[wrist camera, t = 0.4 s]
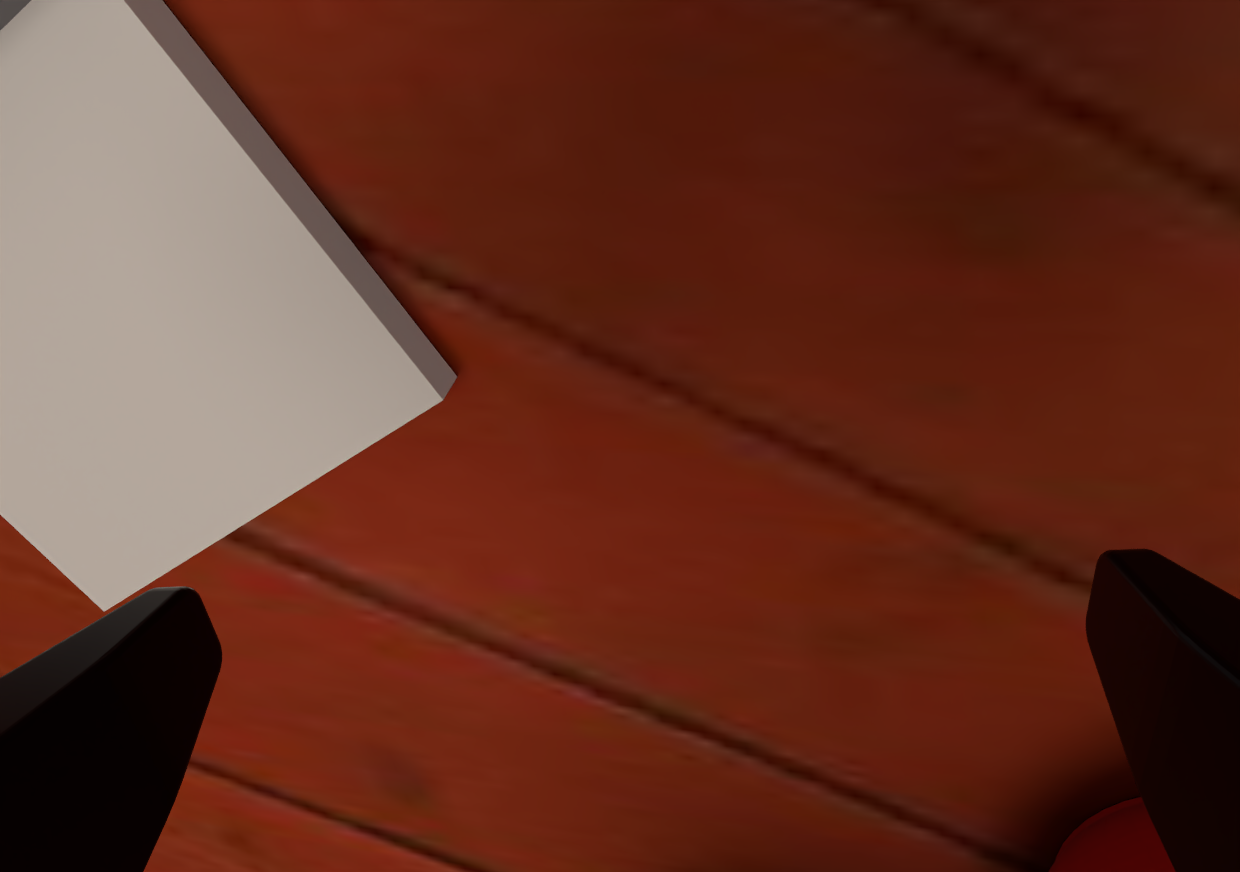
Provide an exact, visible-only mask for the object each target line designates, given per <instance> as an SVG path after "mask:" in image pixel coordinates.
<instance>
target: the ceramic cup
mask: <svg viewBox="0 0 1240 872" xmlns="http://www.w3.org/2000/svg"><path fill="white" fill-rule="evenodd" d="M1049 872H1175V870H1174V867H1173V865H1172V863H1171V861H1170V859H1169V857H1168V855H1167V852H1166V850H1165V848H1164V846H1163V844H1162V842H1161V840H1160V838H1159V835H1158V833H1157V831H1156V829H1155V827H1154V825H1153V823H1152V820H1151V818H1150V816H1149V814H1148V812H1147V809H1146V807H1145V805H1144V802H1143V800H1142V798H1141V797H1138V798H1135V799H1131V800H1127V801H1123V802H1121V803H1118V804H1116V805H1113V806H1111V807H1109V808H1106V809H1104V810H1102V811H1100V812H1099V813H1097V814H1095V815H1094V816H1092V817H1090V818H1089V819H1087V820H1086V821H1085V822H1083V823H1082V824H1081V825H1080V826H1079V827H1077V828H1076V829H1075V830H1074V831H1073V832H1072V833H1071V834H1070V836H1069V837H1068V838H1067V839H1066V840H1065V842H1064V843H1063V844H1062V846H1061V848H1060V850H1059V852H1058V854H1057V856H1056V860H1055V862H1054V864H1053V865H1052V867H1051V868H1050V870H1049Z"/></svg>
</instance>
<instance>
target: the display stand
mask: <svg viewBox="0 0 1240 872" xmlns="http://www.w3.org/2000/svg"><path fill="white" fill-rule="evenodd" d="M456 378H457V376H456V374H455V373H454V372H453V371H452V369H451V368H450V367H449V366H448V364H447V363H446V362H445V360H444V359H443V358H442V357H441V355H440V354H439V353H438V351H437V350H436V349H435V348H434V346H433V345H432V344H431V343H430V341H429V340H428V339H427V337H426V336H425V335H424V334H423V332H422V331H421V330H420V328H419V327H418V326H417V325H416V323H415V322H414V321H413V320H412V318H411V317H410V316H409V314H408V313H407V312H406V311H405V309H404V308H403V307H402V306H401V304H400V303H399V302H398V300H397V299H396V298H395V297H394V295H393V294H392V293H391V291H390V290H389V289H388V288H387V286H386V285H385V284H384V283H383V281H382V280H381V279H380V277H379V276H378V275H377V274H376V272H375V271H374V270H373V268H372V267H371V266H370V265H369V263H368V262H367V261H366V260H365V258H364V257H363V256H362V254H361V253H360V252H359V251H358V249H357V248H356V247H355V245H354V244H353V243H352V242H351V240H350V239H349V238H348V237H347V235H346V234H345V233H344V231H343V230H342V229H341V228H340V226H339V225H338V224H337V223H336V221H335V220H334V219H333V217H332V216H331V215H330V214H329V212H328V211H327V210H326V208H325V207H324V206H323V205H322V203H321V202H320V201H319V200H318V198H317V197H316V196H315V194H314V193H313V192H312V191H311V189H310V188H309V187H308V185H307V184H306V183H305V182H304V180H303V179H302V178H301V177H300V175H299V174H298V173H297V171H296V170H295V169H294V168H293V166H292V165H291V164H290V163H289V161H288V160H287V159H286V157H285V156H284V155H283V154H282V152H281V151H280V150H279V148H278V147H277V146H276V145H275V143H274V142H273V141H272V140H271V138H270V137H269V136H268V134H267V133H266V132H265V131H264V129H263V128H262V127H261V125H260V124H259V123H258V122H257V120H256V119H255V118H254V117H253V115H252V114H251V113H250V111H249V110H248V109H247V108H246V106H245V105H244V104H243V103H242V101H241V100H240V99H239V97H238V96H237V95H236V94H235V92H234V91H233V90H232V88H231V87H230V86H229V85H228V83H227V82H226V81H225V80H224V78H223V77H222V76H221V74H220V73H219V72H218V71H217V69H216V68H215V67H214V65H213V64H212V63H211V62H210V60H209V59H208V58H207V57H206V55H205V54H204V53H203V51H202V50H201V49H200V48H199V46H198V45H197V44H196V42H195V41H194V40H193V39H192V37H191V36H190V35H189V34H188V32H187V31H186V30H185V28H184V27H183V26H182V25H181V23H180V22H179V21H178V20H177V18H176V17H175V16H174V14H173V13H172V12H171V11H170V9H169V8H168V7H167V5H166V4H165V3H164V2H163V0H0V515H1V516H2V517H4V518H5V519H6V520H7V521H8V522H9V523H10V524H11V525H12V526H13V527H14V528H15V529H16V530H17V531H18V532H20V533H21V534H22V535H23V536H24V537H25V538H26V539H27V540H28V541H29V542H30V543H31V544H32V545H33V546H35V547H36V548H37V549H38V550H39V551H40V552H41V553H42V554H43V555H44V556H45V557H46V558H47V559H48V560H49V561H51V562H52V563H53V564H54V565H55V566H56V567H57V568H58V569H59V570H60V571H61V572H62V573H63V574H64V575H66V576H67V577H68V578H69V579H70V580H71V581H72V582H73V583H74V584H75V585H76V586H77V587H78V588H79V589H80V590H82V591H83V592H84V593H85V594H86V595H87V596H88V597H89V598H90V599H91V600H92V601H93V602H94V603H95V604H97V605H98V606H99V607H100V608H101V609H102V610H103V611H106V610H107V609H109V608H111V607H112V606H114V605H115V604H117V603H119V602H120V601H122V600H123V599H125V598H127V597H128V596H130V595H131V594H133V593H135V592H136V591H138V590H139V589H141V588H143V587H144V586H146V585H148V584H149V583H151V582H152V581H154V580H156V579H157V578H159V577H160V576H162V575H164V574H165V573H167V572H168V571H170V570H172V569H173V568H175V567H176V566H178V565H180V564H181V563H183V562H184V561H186V560H188V559H189V558H191V557H192V556H194V555H196V554H197V553H199V552H200V551H202V550H204V549H205V548H207V547H208V546H210V545H212V544H213V543H215V542H216V541H218V540H220V539H221V538H223V537H224V536H226V535H228V534H229V533H231V532H232V531H234V530H236V529H237V528H239V527H240V526H242V525H244V524H245V523H247V522H249V521H250V520H252V519H253V518H255V517H257V516H258V515H260V514H261V513H263V512H265V511H266V510H268V509H269V508H271V507H273V506H274V505H276V504H277V503H279V502H281V501H282V500H284V499H285V498H287V497H289V496H290V495H292V494H293V493H295V492H297V491H298V490H300V489H301V488H303V487H305V486H306V485H308V484H309V483H311V482H313V481H314V480H316V479H317V478H319V477H321V476H322V475H324V474H325V473H327V472H329V471H330V470H332V469H333V468H335V467H337V466H338V465H340V464H341V463H343V462H345V461H346V460H348V459H350V458H351V457H353V456H354V455H356V454H358V453H359V452H361V451H362V450H364V449H366V448H367V447H369V446H370V445H372V444H374V443H375V442H377V441H378V440H380V439H382V438H383V437H385V436H386V435H388V434H390V433H391V432H393V431H394V430H396V429H398V428H399V427H401V426H402V425H404V424H406V423H407V422H409V421H410V420H412V419H414V418H415V417H417V416H418V415H420V414H422V413H423V412H425V411H426V410H428V409H430V408H431V407H433V406H434V405H436V404H438V403H439V402H441V401H442V400H444V398H445V396H446V395H447V393H448V391H449V390H450V388H451V386H452V385H453V383H454V381H455V380H456Z"/></svg>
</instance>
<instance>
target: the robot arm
mask: <svg viewBox="0 0 1240 872" xmlns="http://www.w3.org/2000/svg"><path fill="white" fill-rule="evenodd" d="M1086 634H1087V639H1088V643H1089V647H1090V650H1091V653H1092V656H1093V659H1094V662H1095V665H1096V668H1097V671H1098V674H1099V677H1100V680H1101V683H1102V686H1103V688H1104V691H1105V694H1106V697H1107V700H1108V703H1109V706H1110V709H1111V712H1112V715H1113V718H1114V721H1115V724H1116V727H1117V730H1118V733H1119V736H1120V739H1121V742H1122V745H1123V748H1124V751H1125V754H1126V757H1127V760H1128V763H1129V766H1130V769H1131V772H1132V775H1133V777H1134V780H1135V783H1136V786H1137V788H1138V791H1139V793H1140V795H1141V798H1142V800H1143V802H1144V805H1145V807H1146V809H1147V812H1148V814H1149V816H1150V818H1151V820H1152V823H1153V825H1154V827H1155V829H1156V831H1157V833H1158V835H1159V838H1160V840H1161V842H1162V844H1163V846H1164V848H1165V850H1166V852H1167V855H1168V857H1169V859H1170V861H1171V863H1172V865H1173V867H1174V870H1175V872H1240V599H1238V598H1236V597H1234V596H1233V595H1231V594H1229V593H1227V592H1226V591H1224V590H1222V589H1220V588H1219V587H1217V586H1215V585H1213V584H1211V583H1210V582H1208V581H1206V580H1204V579H1203V578H1201V577H1199V576H1197V575H1196V574H1194V573H1192V572H1190V571H1189V570H1187V569H1185V568H1183V567H1181V566H1180V565H1178V564H1176V563H1174V562H1173V561H1171V560H1169V559H1167V558H1166V557H1164V556H1162V555H1160V554H1158V553H1156V552H1154V551H1152V550H1149V549H1125V550H1108V551H1106V552H1104V553H1103V554H1101V555H1100V557H1099V559H1098V561H1097V564H1096V569H1095V574H1094V579H1093V584H1092V589H1091V594H1090V600H1089V605H1088V610H1087V615H1086ZM221 663H222V650H221V645H220V642H219V639H218V637H217V634H216V632H215V630H214V627H213V625H212V623H211V620H210V618H209V616H208V613H207V611H206V609H205V606H204V604H203V602H202V599H201V597H200V595H199V594H198V593H197V592H196V591H195V590H194V589H192V588H189V587H160V588H154V589H150V590H148V591H146V592H145V593H143V594H141V595H140V596H138V597H136V598H135V599H133V600H131V601H129V602H128V603H126V604H124V605H123V606H121V607H119V608H118V609H116V610H114V611H113V612H111V613H109V614H107V615H106V616H104V617H102V618H101V619H99V620H97V621H96V622H94V623H92V624H91V625H89V626H87V627H85V628H84V629H82V630H80V631H79V632H77V633H75V634H74V635H72V636H70V637H69V638H67V639H65V640H63V641H62V642H60V643H58V644H57V645H55V646H53V647H52V648H50V649H48V650H47V651H45V652H43V653H41V654H40V655H38V656H36V657H35V658H33V659H31V660H30V661H28V662H26V663H25V664H23V665H21V666H19V667H18V668H16V669H14V670H13V671H11V672H9V673H8V674H6V675H4V676H3V677H1V678H0V872H143V871H144V869H145V867H146V865H147V862H148V860H149V858H150V856H151V854H152V852H153V849H154V847H155V845H156V843H157V841H158V838H159V836H160V834H161V832H162V830H163V827H164V825H165V823H166V821H167V818H168V816H169V814H170V811H171V809H172V807H173V804H174V802H175V799H176V797H177V794H178V791H179V789H180V786H181V783H182V781H183V778H184V775H185V772H186V769H187V766H188V763H189V760H190V757H191V754H192V751H193V749H194V746H195V743H196V740H197V737H198V734H199V731H200V728H201V725H202V722H203V719H204V716H205V713H206V710H207V707H208V704H209V701H210V698H211V696H212V693H213V690H214V687H215V684H216V681H217V678H218V675H219V672H220V668H221Z"/></svg>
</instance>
